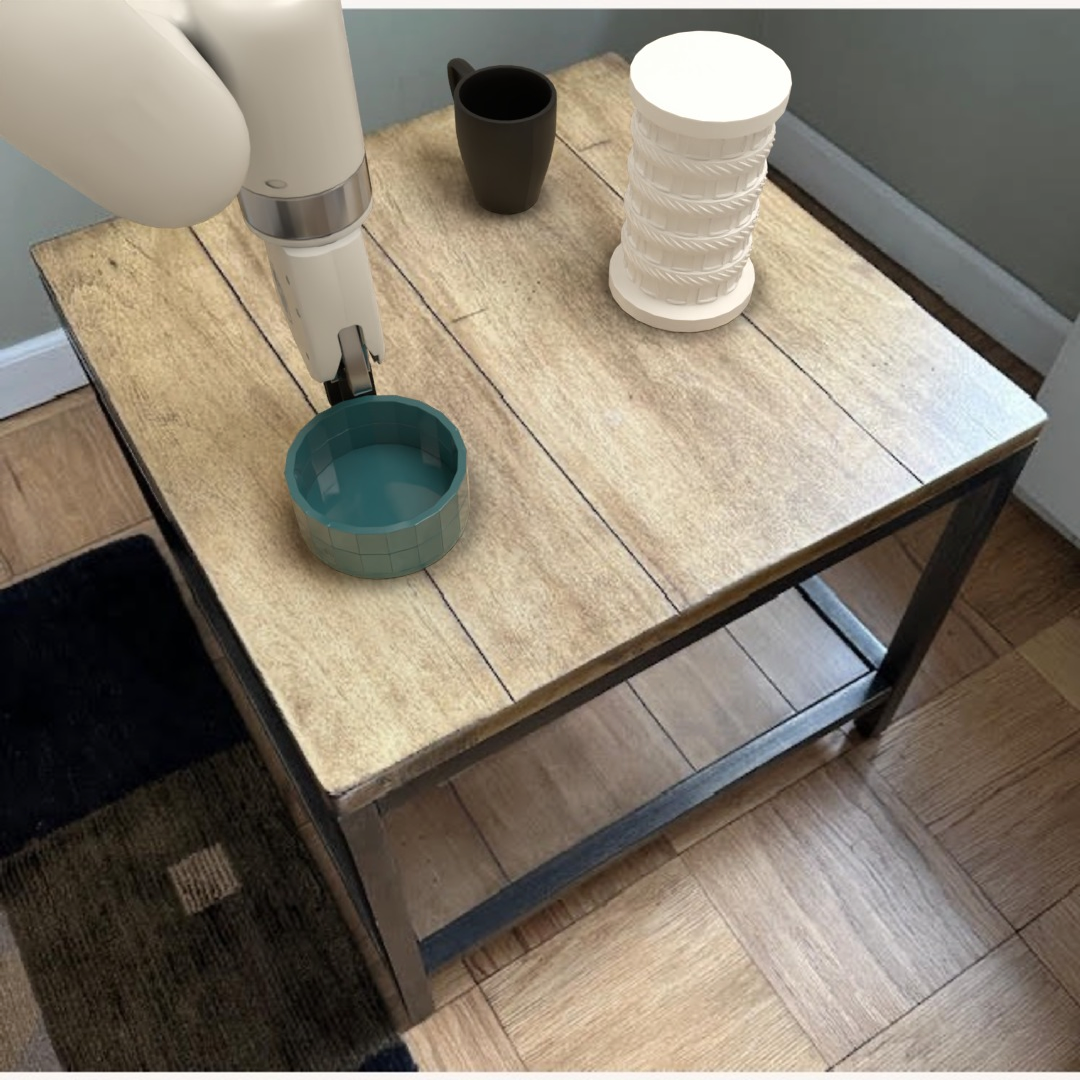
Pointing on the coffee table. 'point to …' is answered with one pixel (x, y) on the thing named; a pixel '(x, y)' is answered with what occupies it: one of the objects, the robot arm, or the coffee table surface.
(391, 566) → the bowl
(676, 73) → the decorative container
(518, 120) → the mug
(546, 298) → the coffee table surface
